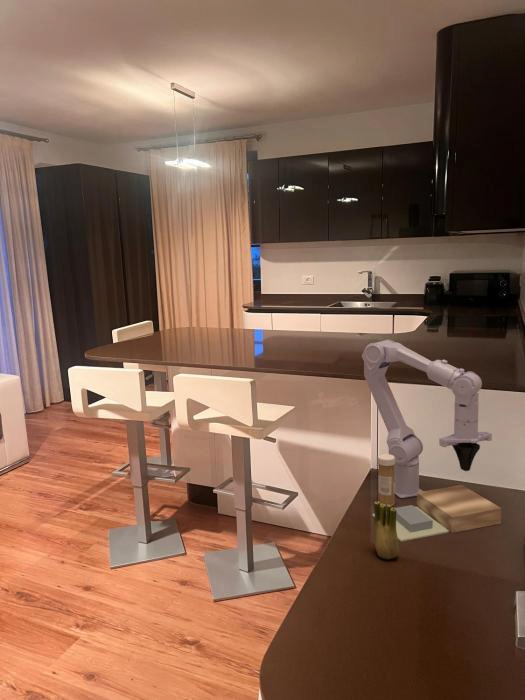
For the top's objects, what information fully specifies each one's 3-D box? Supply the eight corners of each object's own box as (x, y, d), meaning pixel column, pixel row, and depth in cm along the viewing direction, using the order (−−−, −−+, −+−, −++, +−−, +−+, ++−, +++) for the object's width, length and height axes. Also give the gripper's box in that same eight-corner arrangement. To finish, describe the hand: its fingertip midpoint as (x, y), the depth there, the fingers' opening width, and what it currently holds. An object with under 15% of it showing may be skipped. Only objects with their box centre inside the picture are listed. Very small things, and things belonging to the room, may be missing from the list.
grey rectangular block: (412, 505, 131) (412, 512, 131) (391, 508, 129) (391, 515, 129) (432, 520, 122) (432, 528, 122) (410, 524, 120) (410, 532, 121)
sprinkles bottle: (398, 503, 137) (398, 455, 135) (389, 508, 134) (389, 460, 132) (383, 498, 141) (383, 452, 139) (374, 503, 138) (374, 456, 136)
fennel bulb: (371, 550, 114) (370, 500, 113) (391, 547, 115) (391, 497, 114) (381, 564, 109) (381, 511, 107) (402, 561, 110) (403, 509, 108)
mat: (372, 515, 131) (372, 514, 131) (416, 507, 134) (416, 506, 134) (400, 541, 117) (400, 540, 117) (448, 532, 121) (449, 530, 121)
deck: (416, 506, 135) (416, 492, 134) (461, 498, 139) (461, 485, 138) (452, 533, 121) (452, 517, 120) (500, 523, 124) (501, 508, 124)
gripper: (451, 426, 125) (450, 479, 126) (500, 420, 128) (499, 471, 130) (434, 419, 131) (434, 469, 133) (481, 413, 135) (480, 462, 137)
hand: (465, 469), depth 132 cm, fingers closed
